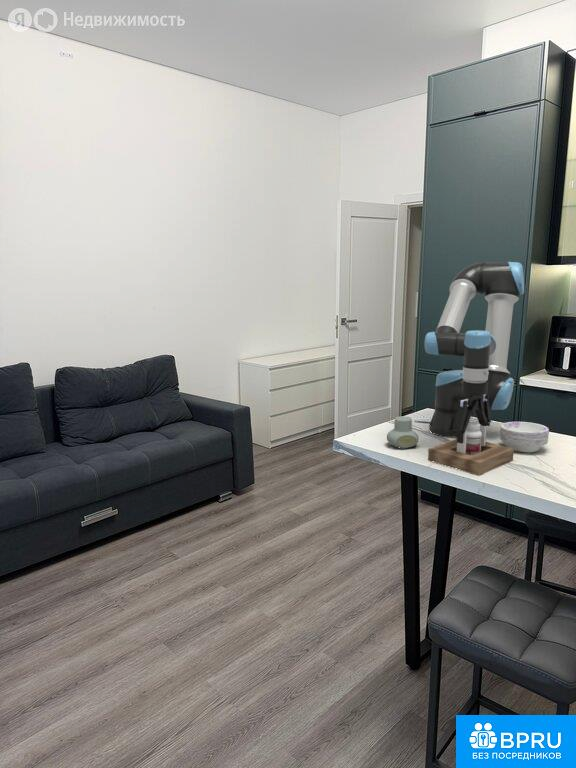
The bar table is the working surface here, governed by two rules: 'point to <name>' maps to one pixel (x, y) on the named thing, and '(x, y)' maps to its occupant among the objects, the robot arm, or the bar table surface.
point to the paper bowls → (524, 436)
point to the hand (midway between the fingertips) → (471, 448)
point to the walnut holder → (471, 457)
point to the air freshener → (402, 433)
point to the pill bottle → (473, 439)
